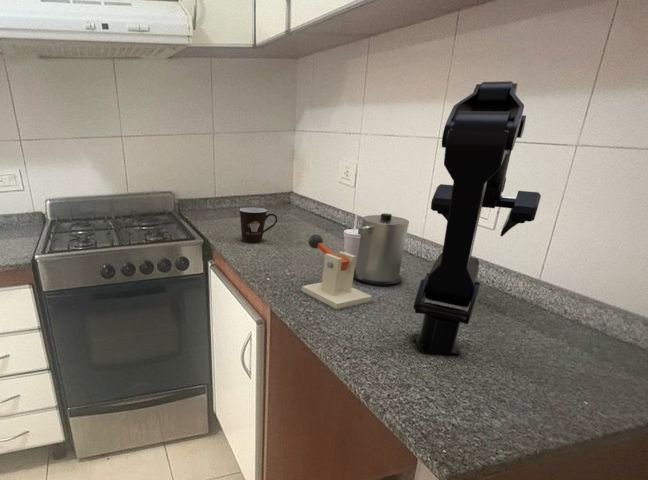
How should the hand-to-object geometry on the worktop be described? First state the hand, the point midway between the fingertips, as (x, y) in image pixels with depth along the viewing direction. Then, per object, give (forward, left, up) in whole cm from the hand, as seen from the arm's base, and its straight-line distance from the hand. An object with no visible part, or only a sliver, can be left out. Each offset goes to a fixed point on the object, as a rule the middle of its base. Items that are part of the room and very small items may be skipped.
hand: (477, 231), depth 96 cm
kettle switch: (-3, +32, -7) cm, 33 cm away
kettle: (+7, +18, -15) cm, 25 cm away
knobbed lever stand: (-7, +29, -15) cm, 33 cm away
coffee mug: (+39, +51, -15) cm, 66 cm away
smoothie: (+17, +23, -15) cm, 33 cm away
